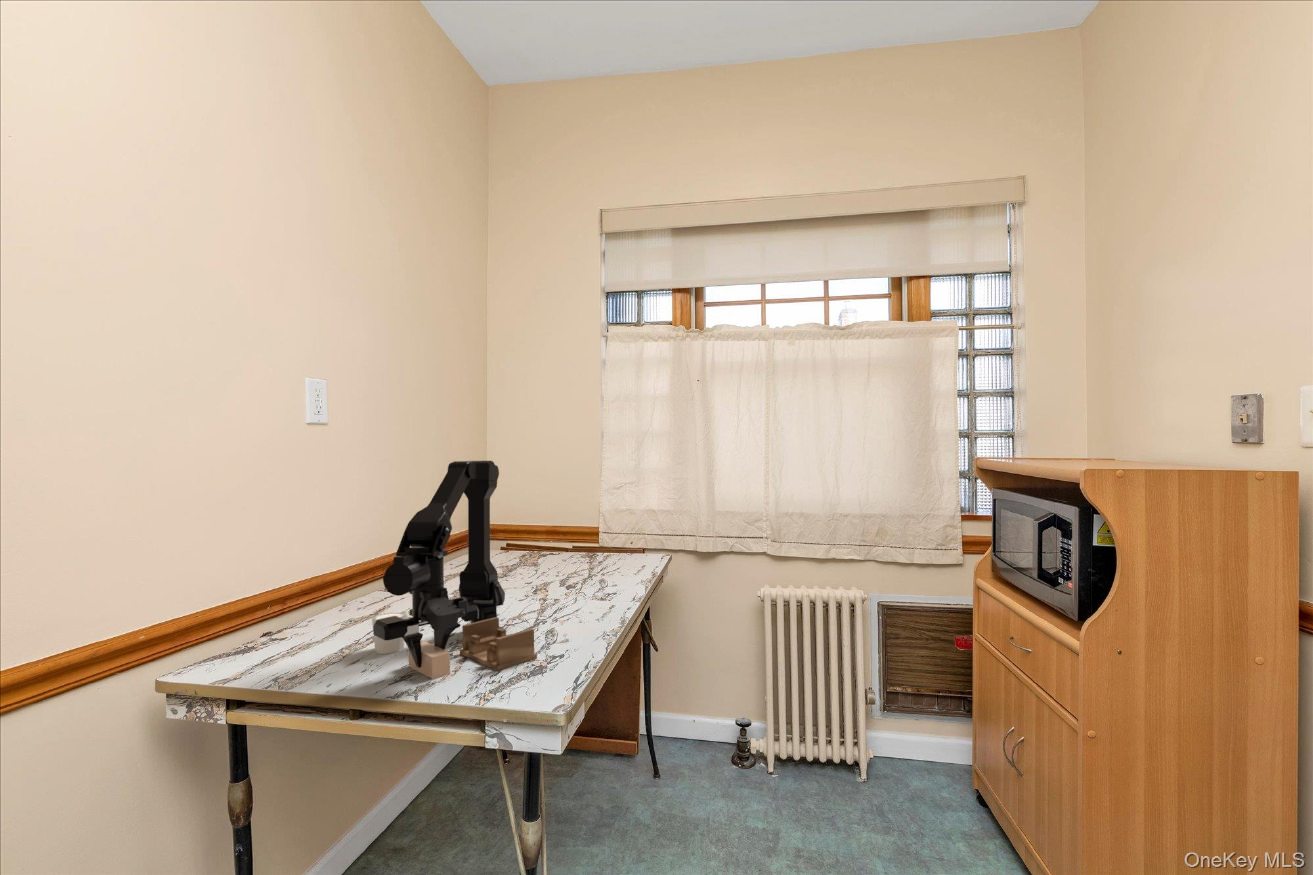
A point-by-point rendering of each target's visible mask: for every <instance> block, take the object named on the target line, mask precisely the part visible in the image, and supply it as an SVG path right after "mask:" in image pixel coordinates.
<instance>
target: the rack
mask: <svg viewBox="0 0 1313 875" xmlns="http://www.w3.org/2000/svg"><path fill="white" fill-rule="evenodd" d="M499 627H500V618H499V617H498V616H497V617H495V618H490V619H486V620H482V621H478V622H474V623H471V622H469V623H467V624H463V625H462V649H459V654H460V655H462V656H464V657H466V658H469V659H470V660H473V661H475V662H478V663H480V664H482V665H485V666H487V667H488V668H491V669H494V670H495V671H497V672H498V671H500V670H505V669H508V668H510V667H513V666H517V665H520V664H523V663H525V662H530V661H533V660H536V659H538V654H537V653H535V629H533V628H529V629H525V630H522V631H518V632H514V633H510V634H507V630H506V629H504V628H503V627H502V628H503V629H502V628H499Z"/></svg>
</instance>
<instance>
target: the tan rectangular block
mask: <svg viewBox="0 0 1313 875" xmlns="http://www.w3.org/2000/svg"><path fill="white" fill-rule="evenodd" d="M407 648H408V647H407ZM407 650H408V651H407V652H408V667H409V668H411V669H413V670H415V671H417V672H419V673H420V674H422V675H423V676H426V677H428V678H430V679H432V680H433V679H437V678H440V677H444V676H448V675H450V674H451V653H450V651H448V650H446V649H445V650H444V649H441V648H439V647H437V646H435V645H434V643H433V644H432V643H431V642H428V641H421V656H422V663H421V667H420V668H419V667H417V666H416V663H415V661H414V659H413V657H412V655H411V652H410V650H409V648H408V649H407Z"/></svg>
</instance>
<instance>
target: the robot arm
mask: <svg viewBox="0 0 1313 875" xmlns="http://www.w3.org/2000/svg"><path fill="white" fill-rule="evenodd" d="M499 475H500V470H499V467H498V465H496V464H495V462H494V461H493V460H461V461H458V460H457V461H456V460H455V461H452V462H450V463H449V464H448V466H447V472H446V474H445V476H444V478H443V479H442V481H441V482H440V485H438V488H437V490H436V491H435V493H434V495H433V497H431V500H430V502H429V503H428V505H426V506H425V507H424V508H422V509H420V510H419V511H416V513H415V514H414V515H413V516H412V518H411V519H410V520H409V521H408V523H407V525H406V527H405V529H404V531H403V533H402V536H401V540H400V542H399V546H398V548H397V550H396V553H395V556H394V557H393V564H391V565H389V566H388V567H387V568H386V569H385V571H384V575H383V577H382V582H383V586H384V588H385V590H386V591H387V592H388V594H389V593H390V594H392V595H393V596H396V597H397V596H403V595H406V594H408V593H409V594H410V595H412V598H411V602H412V604H411V606H412V607H411V609H409V616H412V617H409V618H408V617H407V619H402V618H399V617H397V616H392V617H387V618H382V619H378V620H377V621H376V622H375V624H374V626H373V625H372V632H373V633H372V634H373V636H374V635H375V636H377V637H379V638H381V639H383V640H393V639H397V638H401V637H402V638H403V639H404V641H405V643H404V644H406V646H407V648H409V650H410V652H411V655H412V657H413V659H414V661H415V663H416V666H417V667H419V668H420V667H421V663H422V656H421V642H422V638H423V636H424V634H423V633H421V632H420V630H419V627H423V626H427V625H430V627H431V629H432V630H433V638H434V643H433V645H435V646H437V647H439V648H441V649H444V650H446V647H447V644H448V641H449V639H450V637H451V635H452V633H453V632H454V631H455V630H457V629H458V628H460V627H461V625H462V624H461V623H458V622H459V619H461V620H463V621H464V622H466V623H467V622H469V623H474V622H478V621H482V620H486V619H490V618H495V617H498V612H497V611H498V610H497V608H498V607H500V606H503V605H504V603H505V599H506V598H505V596H506V592H505V591H504V588H503V587H502V585H501V583H500V581H499V577H498V571H497V569H496V568H495V566H494V564H493V563H492V561H491V518H490V517H491V507H490V506H491V497H492V495H493V494H494V492H495V490H496V489H497V486H498V479H499ZM463 494H464V495H465V497H466V498H467V508H468V509H467V511H468V512H467V520H468V521H467V522H468V524H467V529H468V530H467V532H468V534H467V544H468V545H467V546H468V548H467V554H468V555H467V556H468V561H467V564H466V566H465V567H464V569H463V570H462V571H460V573H459V585H458V593H459V597H456V598H452V599H450V598H449V594H448V593H449V592H448V588H447V587H445V585H444V584H445V582H444V575H445V574H444V570H445V569H444V557H447V556H448V555H449V554H448V553H449V552H448V551H447V549H445V546H447V545H446V544H447V543H448V541H449V539H450V537H451V533H452V530H453V526H452V523H451V518H452V516H453V513H454V512H455V511H456V508H457V506H458V504H459V502H460V500H461V498H462V496H463ZM499 628H502V629H504V628H503V627H502V626H499Z"/></svg>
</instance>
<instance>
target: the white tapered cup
mask: <svg viewBox="0 0 1313 875" xmlns="http://www.w3.org/2000/svg"><path fill="white" fill-rule="evenodd" d="M392 616H397V617H399V618H402V619H408V614H406V613H404V612H388V613H383V614H379V615H376V616H373V617H372V618H371V623H372V624H371V625H372V627H373V626H374V624H375V622H376V621H377V620H378V619H382V618H387V617H392ZM373 642H374V650H375V653H376V654H382V655H384V654H394V653H397V652H400V651H402V650H404V648H405V644H406V643H405V641H404V639H403V638H402V637H401V638H397V639H393V640H383V639H381V638H379V637H377V636H375V635H373Z"/></svg>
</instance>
